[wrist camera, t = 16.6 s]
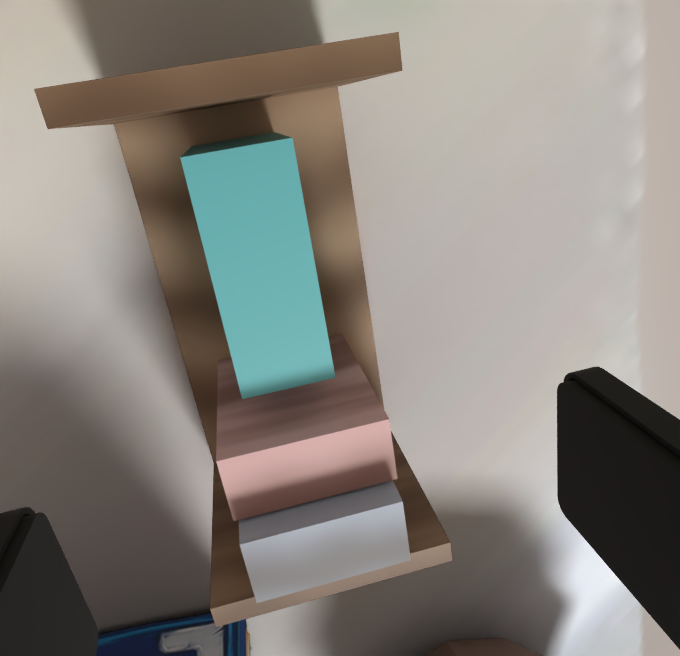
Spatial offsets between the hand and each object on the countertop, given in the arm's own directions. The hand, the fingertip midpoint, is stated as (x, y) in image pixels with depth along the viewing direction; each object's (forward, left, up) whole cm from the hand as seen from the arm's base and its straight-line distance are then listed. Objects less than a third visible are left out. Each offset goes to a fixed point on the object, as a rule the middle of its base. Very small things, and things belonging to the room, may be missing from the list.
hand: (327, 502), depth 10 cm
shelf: (+4, 0, -26) cm, 26 cm away
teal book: (0, 0, -24) cm, 24 cm away
